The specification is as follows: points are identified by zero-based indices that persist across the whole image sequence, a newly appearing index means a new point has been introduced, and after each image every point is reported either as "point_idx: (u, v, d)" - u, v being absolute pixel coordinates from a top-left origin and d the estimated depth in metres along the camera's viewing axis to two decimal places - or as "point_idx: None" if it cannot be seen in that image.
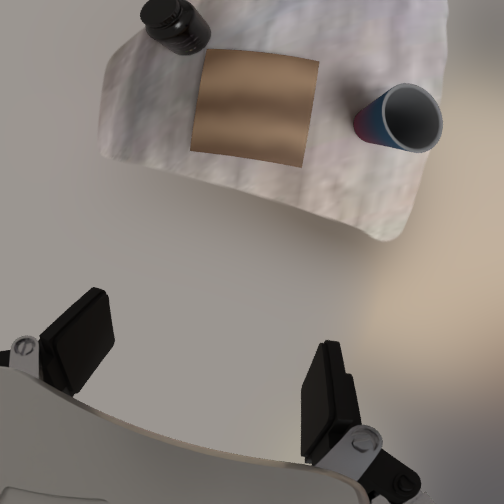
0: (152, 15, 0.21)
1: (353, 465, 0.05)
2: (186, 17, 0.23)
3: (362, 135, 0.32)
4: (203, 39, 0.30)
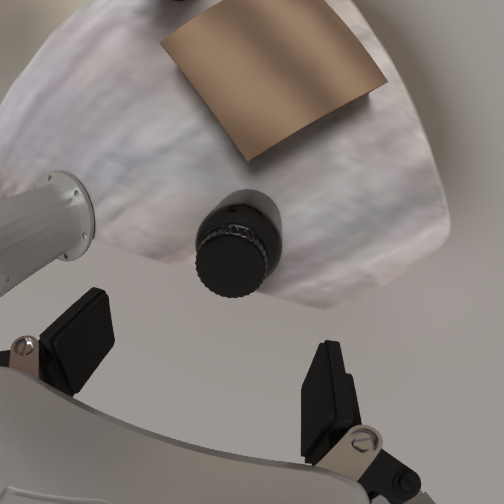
0: (245, 265, 0.18)
1: (353, 465, 0.05)
2: (219, 218, 0.20)
3: None
4: (239, 192, 0.26)
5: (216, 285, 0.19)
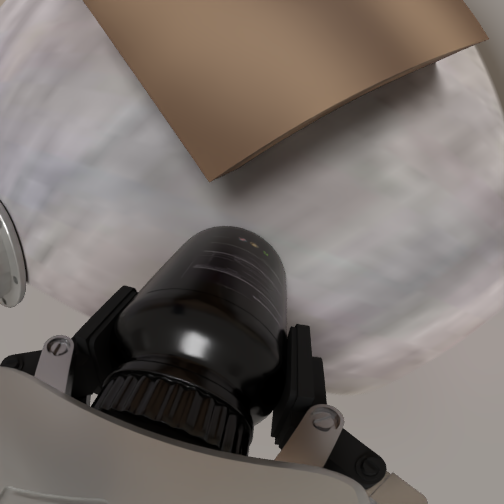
0: None
1: (311, 442, 0.06)
2: (137, 332, 0.08)
3: None
4: (206, 236, 0.14)
5: None
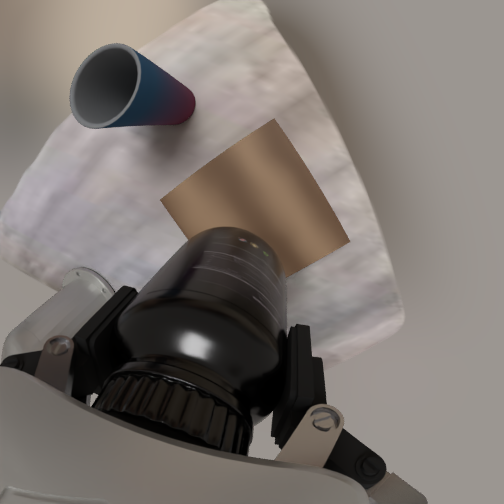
0: None
1: (311, 442, 0.06)
2: (137, 333, 0.08)
3: (187, 100, 0.26)
4: (206, 237, 0.14)
5: None
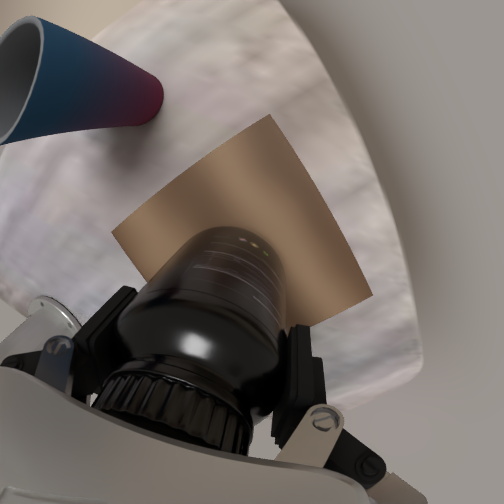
0: None
1: (311, 442, 0.06)
2: (137, 332, 0.08)
3: (148, 92, 0.17)
4: (206, 236, 0.14)
5: None
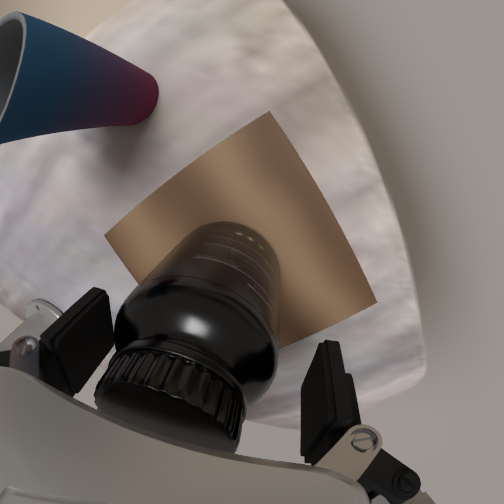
0: (191, 437, 0.07)
1: (352, 465, 0.05)
2: (141, 315, 0.09)
3: (141, 89, 0.16)
4: (205, 231, 0.15)
5: None
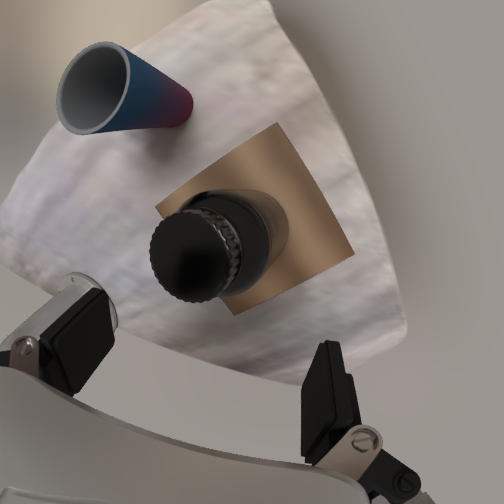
0: (205, 262, 0.13)
1: (353, 465, 0.05)
2: (199, 201, 0.16)
3: (184, 102, 0.24)
4: None
5: (166, 278, 0.14)
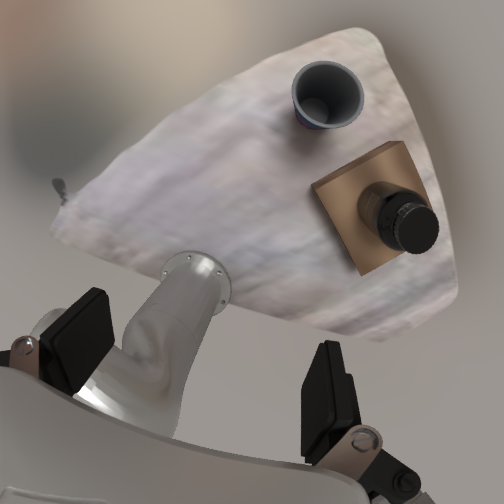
0: (428, 232, 0.22)
1: (353, 465, 0.05)
2: (407, 196, 0.24)
3: (335, 113, 0.32)
4: None
5: (406, 241, 0.23)
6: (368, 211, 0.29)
